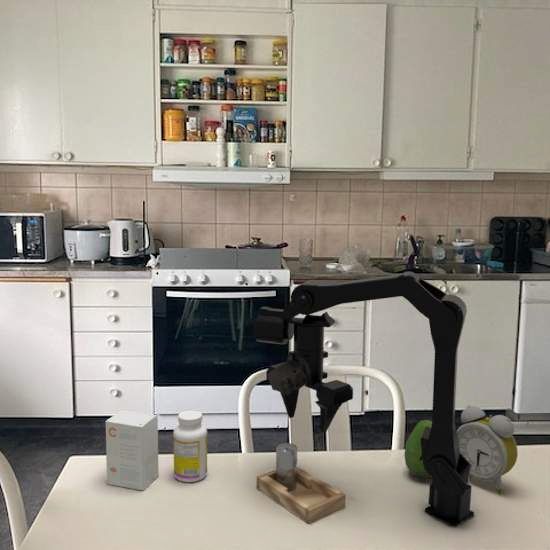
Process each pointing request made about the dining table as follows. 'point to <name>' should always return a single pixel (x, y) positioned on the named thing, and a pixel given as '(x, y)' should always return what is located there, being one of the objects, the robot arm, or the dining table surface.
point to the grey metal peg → (286, 465)
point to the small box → (132, 449)
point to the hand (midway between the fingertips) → (307, 424)
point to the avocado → (416, 450)
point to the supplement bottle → (190, 447)
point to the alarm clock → (487, 445)
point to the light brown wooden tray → (303, 495)
